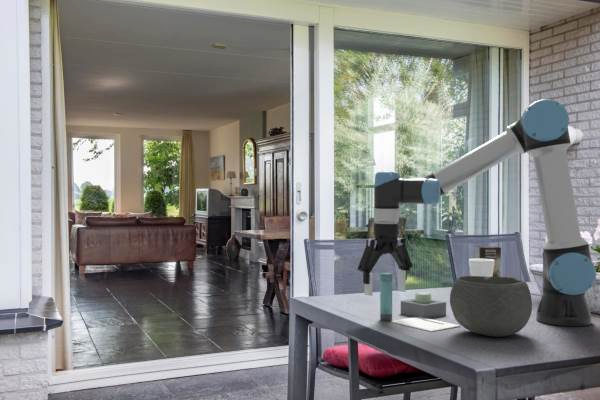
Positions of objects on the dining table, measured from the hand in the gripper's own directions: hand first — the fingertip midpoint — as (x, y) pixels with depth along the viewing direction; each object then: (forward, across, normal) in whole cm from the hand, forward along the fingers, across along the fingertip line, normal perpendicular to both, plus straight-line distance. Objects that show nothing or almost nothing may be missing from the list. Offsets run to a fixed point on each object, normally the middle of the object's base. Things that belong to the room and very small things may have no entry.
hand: (385, 293), depth 184 cm
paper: (+8, -5, +11) cm, 15 cm away
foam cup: (+8, -65, -16) cm, 68 cm away
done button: (+6, -16, 0) cm, 17 cm away
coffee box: (+8, -87, -30) cm, 92 cm away
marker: (+8, 0, 0) cm, 8 cm away
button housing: (+8, -16, 0) cm, 18 cm away
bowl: (+8, -10, +30) cm, 33 cm away
